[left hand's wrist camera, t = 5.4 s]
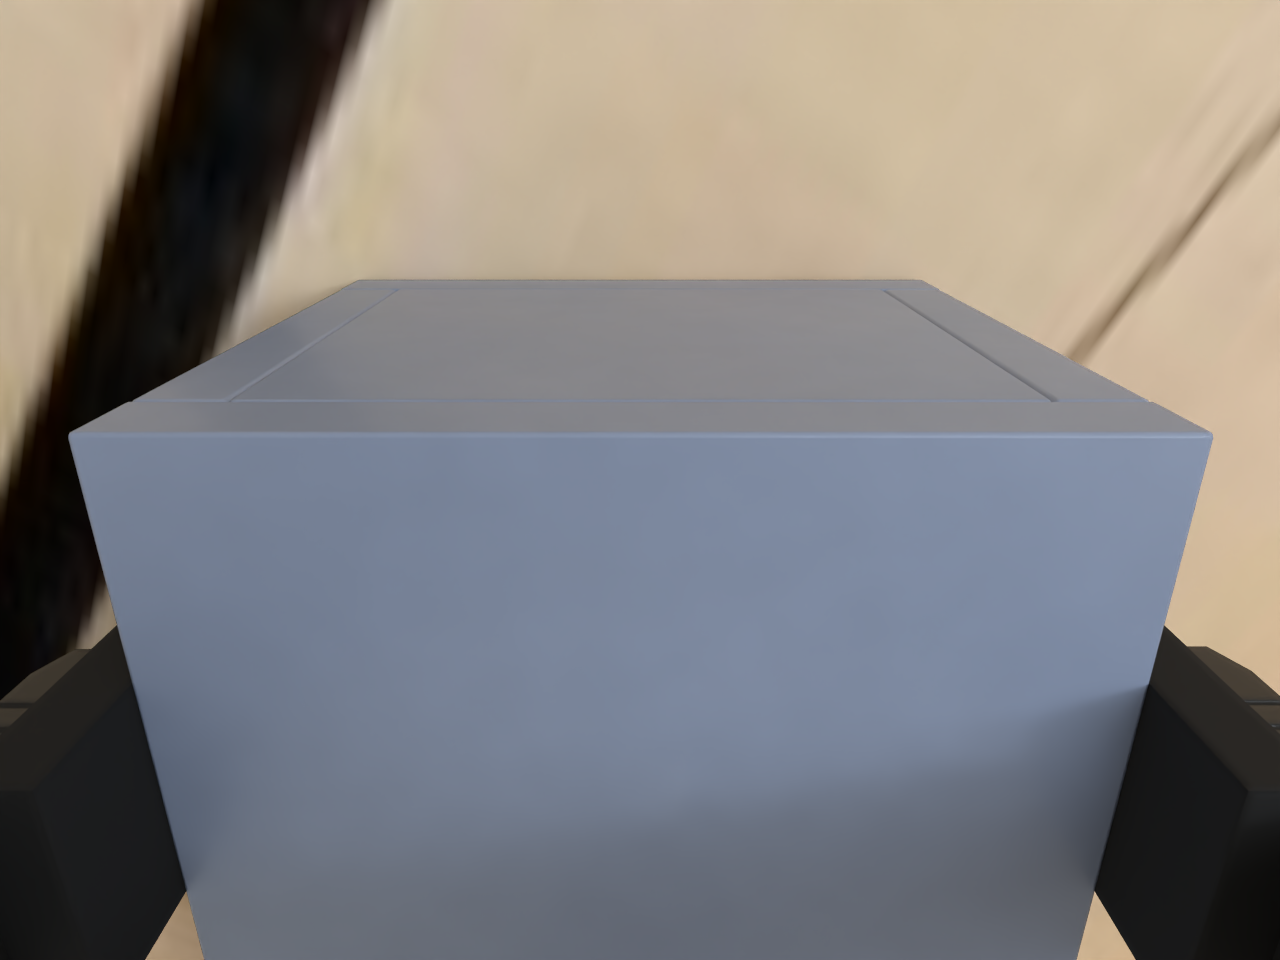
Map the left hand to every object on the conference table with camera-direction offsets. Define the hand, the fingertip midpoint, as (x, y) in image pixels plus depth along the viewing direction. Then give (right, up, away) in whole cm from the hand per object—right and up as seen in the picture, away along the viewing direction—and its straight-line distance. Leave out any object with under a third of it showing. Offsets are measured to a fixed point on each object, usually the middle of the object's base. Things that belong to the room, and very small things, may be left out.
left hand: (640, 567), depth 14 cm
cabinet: (0, -5, +6) cm, 8 cm away
